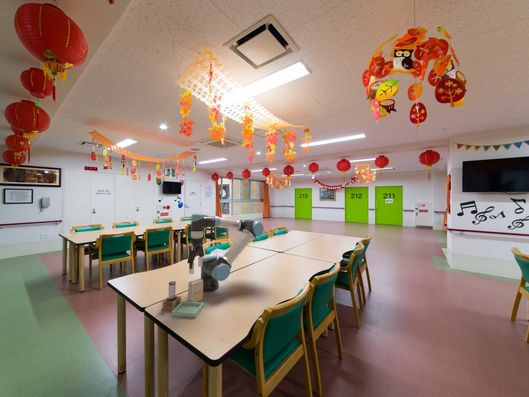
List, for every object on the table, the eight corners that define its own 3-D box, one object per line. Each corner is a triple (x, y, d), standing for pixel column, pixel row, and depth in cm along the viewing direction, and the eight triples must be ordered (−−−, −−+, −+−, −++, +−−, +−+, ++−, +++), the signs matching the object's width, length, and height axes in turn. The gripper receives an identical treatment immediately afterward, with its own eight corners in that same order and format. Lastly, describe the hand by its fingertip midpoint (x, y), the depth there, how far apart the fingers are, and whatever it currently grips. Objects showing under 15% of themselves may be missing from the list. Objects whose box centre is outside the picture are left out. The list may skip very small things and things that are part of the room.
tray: (181, 305, 127) (182, 301, 127) (203, 306, 125) (203, 302, 125) (171, 316, 115) (171, 311, 115) (195, 318, 113) (195, 313, 113)
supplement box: (198, 297, 137) (199, 278, 137) (202, 300, 134) (203, 280, 134) (187, 302, 130) (188, 281, 130) (191, 304, 127) (192, 284, 127)
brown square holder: (169, 303, 128) (169, 295, 128) (180, 304, 128) (181, 296, 128) (162, 309, 121) (162, 301, 121) (174, 310, 120) (174, 302, 120)
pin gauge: (170, 305, 126) (170, 281, 126) (176, 305, 126) (177, 281, 126) (166, 308, 122) (167, 283, 122) (172, 309, 122) (173, 284, 122)
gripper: (199, 233, 145) (198, 263, 145) (182, 240, 120) (180, 276, 120) (209, 234, 144) (208, 264, 144) (194, 241, 119) (193, 277, 119)
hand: (195, 269), depth 132 cm, fingers open, 13 cm apart
